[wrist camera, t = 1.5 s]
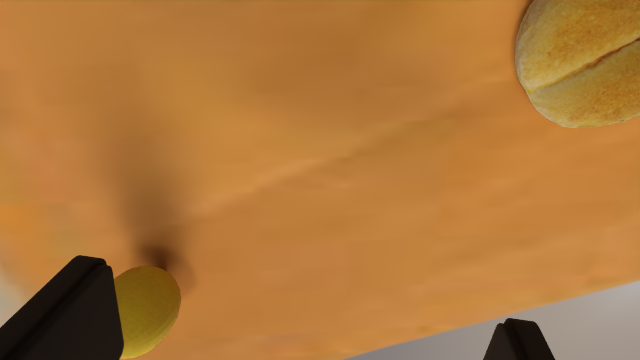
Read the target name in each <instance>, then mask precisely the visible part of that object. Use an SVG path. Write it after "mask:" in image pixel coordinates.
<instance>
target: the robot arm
mask: <svg viewBox="0 0 640 360" xmlns="http://www.w3.org/2000/svg"><path fill="white" fill-rule="evenodd" d="M123 349H124V339H123V333H122V327H121V321H120V314H119V308H118V302H117V296H116V290H115V284H114V278H113V272H112V268H111V267H110V266H108V265H107V264H106V261H105V260H104V259H101V258H95V257H88V256H81V255H79V256H76V257H75V258H73V259H72V260H71V261H70V262H69V263H68V264H67V265H66V266H65V267H64V268H63V269H62V270H61V271H60V272H58V273H57V274H56V275H55V276H54V277H53V278H52V279H51V280H50V281H49V282H48V283H47V284H46V285H45V286H44V287H43V288H42V289H41V290H40V291H39V292H37V293H36V294H35V295H34V296H33V297H32V298H31V299H30V300H29V301H28V302H27V303H26V304H25V305H24V306H23V307H22V308H21V309H20V310H19V311H17V312H16V313H15V314H14V315H13V316H12V317H11V318H10V319H9V320H8V321H7V322H6V323H5V324H4V325H3V326H2V327H1V328H0V360H119V359H120V357H121V355H122V353H123ZM483 360H555V359H554V356H553V355H552V352H551V350H550V348H549V347H548V345H547V342H546V341H545V338H544V336H543V334H542V332H541V330H540V328H539V327H538V325H537V324H536V323H535V322H533V321H525V320H519V319H512V318H508V319H506V321H505V322H504V324H502V323H499V324H498V325H497V327H496V329H495V331H494V334H493V336H492V339H491V341H490V344H489V346H488V349H487V351H486V354H485V356H484V359H483Z"/></svg>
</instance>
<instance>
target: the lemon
mask: <svg viewBox="0 0 640 360" xmlns="http://www.w3.org/2000/svg"><path fill="white" fill-rule="evenodd" d="M114 284H115V290H116V296H117V302H118V308H119V314H120V321H121V327H122V333H123V339H124V349H123V353H122V355H121V357H120V358H122V359H126V358H134V357H138V356H140V355H143V354H145V353H147V352H148V351H150V350H151V349H152V348H154V347H155V346H156V345H157V344H159V343H160V342H161V341H162V340H163V338H164V337H165V336H166V335H167V333H168V332H169V331H170V329H171V327H172V326H173V324H174V322H175V320H176V318H177V316H178V313H179V308H180V303H181V295H180V289H179V287H178V284H177V282H176V281H175V279H174V278H173V277H172V276H171V275H170V274H169V273H168V272H167V271H165V270H163V269H161V268H158V267H154V266H139V267H136V268H132V269H129V270H127V271H125V272H124V273H122V274H121V275H119V276H118V277H116V278H115V279H114Z"/></svg>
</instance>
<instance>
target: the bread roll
mask: <svg viewBox="0 0 640 360" xmlns="http://www.w3.org/2000/svg"><path fill="white" fill-rule="evenodd" d="M515 65H516V72H517V76H518V79H519V81H520V83H521V85H522V86H523V88H524V90H525V91H526V93H527V96H528V98H529V100H530V102H531V103H532V105H533V106H534V107H535V108H536V110H538V111H539V112H540V113H541V114H542V115H543V116H544V117H546V118H547V119H549V120H550V121H552V122H554V123H556V124H558V125H560V126H564V127H572V128H588V127H598V126H603V125H609V124H614V123H617V122H626V121H627V120H629V119H631V118H632V117H634V116H639V115H640V0H533V2H532V3H531V5H530V6H529V8H528V9H527V11H526V13H525V15H524V18H523V20H522V22H521V25H520V27H519V30H518V33H517V38H516V43H515Z"/></svg>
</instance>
